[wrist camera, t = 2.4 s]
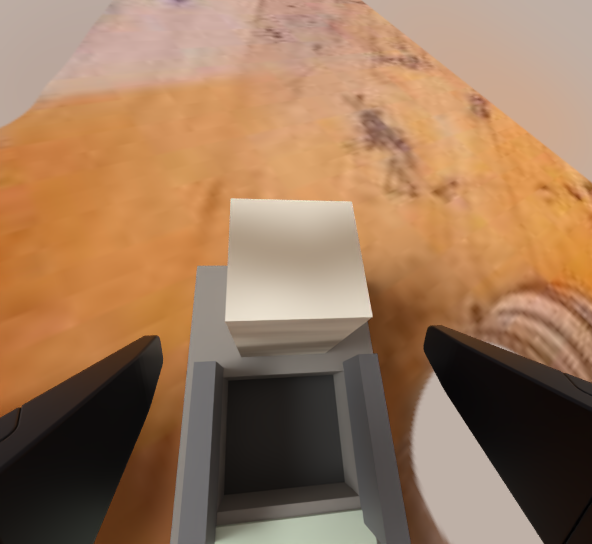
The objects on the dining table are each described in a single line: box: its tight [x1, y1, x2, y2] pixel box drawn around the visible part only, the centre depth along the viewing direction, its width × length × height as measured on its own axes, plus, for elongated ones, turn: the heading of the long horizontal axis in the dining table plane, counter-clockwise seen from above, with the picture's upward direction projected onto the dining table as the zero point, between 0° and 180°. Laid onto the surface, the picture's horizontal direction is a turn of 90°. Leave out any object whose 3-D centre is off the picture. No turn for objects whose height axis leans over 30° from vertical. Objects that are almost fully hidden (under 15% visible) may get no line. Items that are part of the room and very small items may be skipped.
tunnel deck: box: [170, 266, 411, 544], centre depth 15 cm, size 20×11×6 cm, turn 3°
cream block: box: [225, 199, 373, 357], centre depth 14 cm, size 5×5×8 cm
